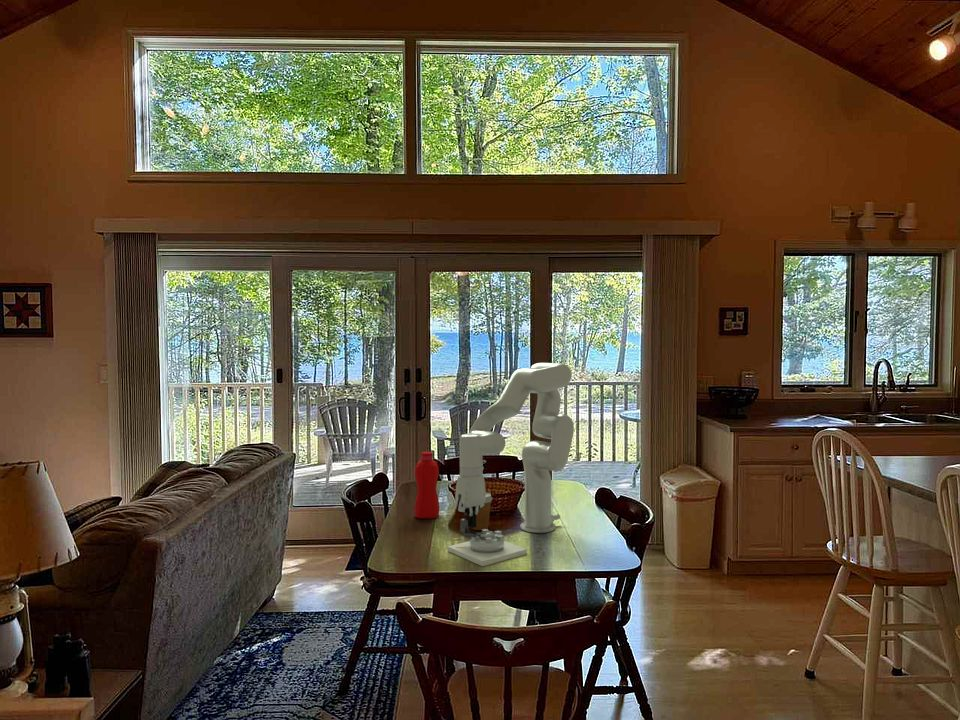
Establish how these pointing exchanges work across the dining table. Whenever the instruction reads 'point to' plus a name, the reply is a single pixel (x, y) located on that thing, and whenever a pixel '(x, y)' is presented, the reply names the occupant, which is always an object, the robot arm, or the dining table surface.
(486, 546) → the silver lever knob
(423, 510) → the water bottle
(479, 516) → the disposable coffee cup
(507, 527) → the dining table surface
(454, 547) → the base plate
